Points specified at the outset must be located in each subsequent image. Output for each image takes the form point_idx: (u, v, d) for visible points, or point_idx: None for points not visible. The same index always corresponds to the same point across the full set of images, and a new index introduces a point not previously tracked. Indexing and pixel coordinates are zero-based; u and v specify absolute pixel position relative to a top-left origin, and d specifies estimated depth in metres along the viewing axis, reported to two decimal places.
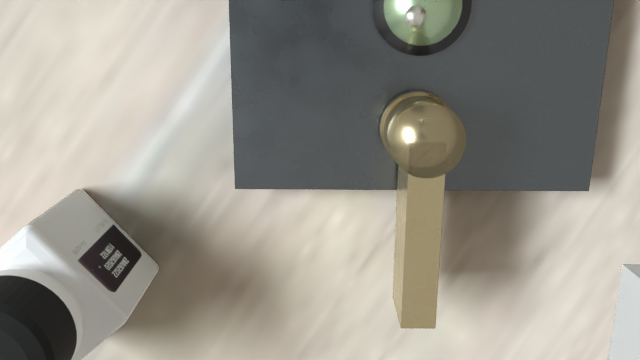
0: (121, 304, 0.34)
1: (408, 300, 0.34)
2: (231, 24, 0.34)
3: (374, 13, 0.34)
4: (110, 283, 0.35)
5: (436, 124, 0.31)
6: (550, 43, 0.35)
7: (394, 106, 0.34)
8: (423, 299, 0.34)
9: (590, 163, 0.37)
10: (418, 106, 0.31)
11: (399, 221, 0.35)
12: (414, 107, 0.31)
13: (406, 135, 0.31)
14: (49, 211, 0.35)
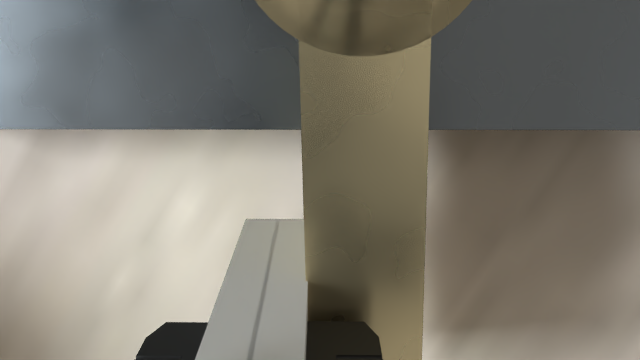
0: None
1: None
2: None
3: None
4: None
5: None
6: None
7: None
8: None
9: None
10: None
11: None
12: None
13: None
14: None
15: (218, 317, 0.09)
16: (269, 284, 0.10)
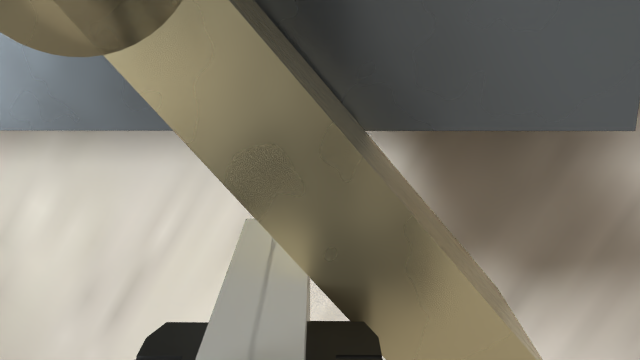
0: None
1: None
2: None
3: None
4: None
5: None
6: None
7: None
8: (461, 340, 0.10)
9: None
10: None
11: None
12: None
13: None
14: None
15: (218, 317, 0.09)
16: (268, 284, 0.10)
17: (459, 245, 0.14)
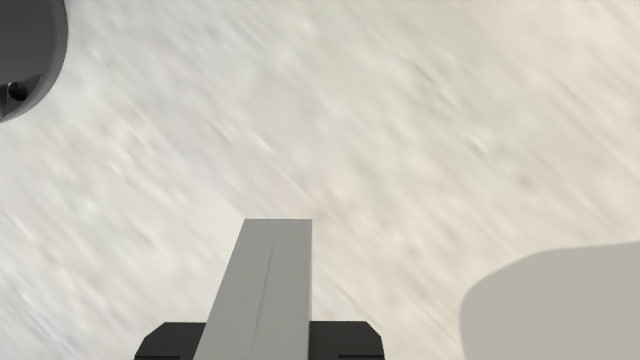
0: None
1: None
2: None
3: None
4: None
5: None
6: None
7: None
8: None
9: None
10: None
11: None
12: None
13: None
14: None
15: (216, 317, 0.09)
16: (271, 284, 0.10)
17: None
